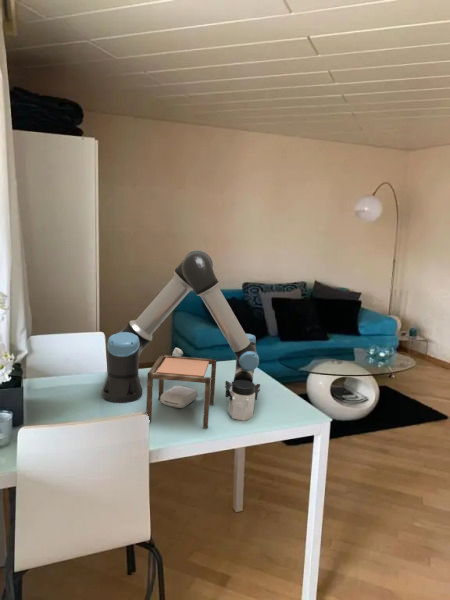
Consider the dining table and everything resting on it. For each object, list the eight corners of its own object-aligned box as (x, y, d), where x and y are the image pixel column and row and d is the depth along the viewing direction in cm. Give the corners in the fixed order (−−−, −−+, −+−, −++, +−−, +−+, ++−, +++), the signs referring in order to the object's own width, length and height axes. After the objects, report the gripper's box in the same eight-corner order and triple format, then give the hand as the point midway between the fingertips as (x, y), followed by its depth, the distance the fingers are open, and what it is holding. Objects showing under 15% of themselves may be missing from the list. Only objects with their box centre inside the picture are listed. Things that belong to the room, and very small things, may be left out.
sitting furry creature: (160, 372, 213) (161, 346, 211) (176, 369, 218) (178, 343, 216) (171, 379, 206) (172, 352, 204) (188, 375, 211) (189, 349, 209)
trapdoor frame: (146, 422, 164) (147, 373, 160) (159, 398, 184) (160, 354, 181) (207, 428, 162) (210, 379, 159) (213, 403, 183) (216, 359, 179)
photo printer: (174, 394, 189) (157, 405, 178) (174, 383, 189) (157, 394, 178) (197, 399, 185) (181, 411, 174) (198, 389, 184) (181, 400, 173)
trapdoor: (156, 374, 163) (156, 371, 163) (165, 360, 178) (166, 357, 178) (203, 378, 162) (203, 375, 161) (208, 363, 177) (208, 361, 177)
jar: (225, 417, 171) (229, 386, 168) (230, 408, 178) (233, 378, 176) (250, 422, 169) (254, 390, 166) (254, 412, 177) (257, 382, 174)
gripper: (264, 390, 190) (264, 415, 167) (221, 386, 191) (214, 411, 168) (266, 372, 189) (265, 395, 166) (222, 368, 190) (216, 390, 167)
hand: (240, 403), depth 167 cm, fingers closed on jar, 4 cm apart
